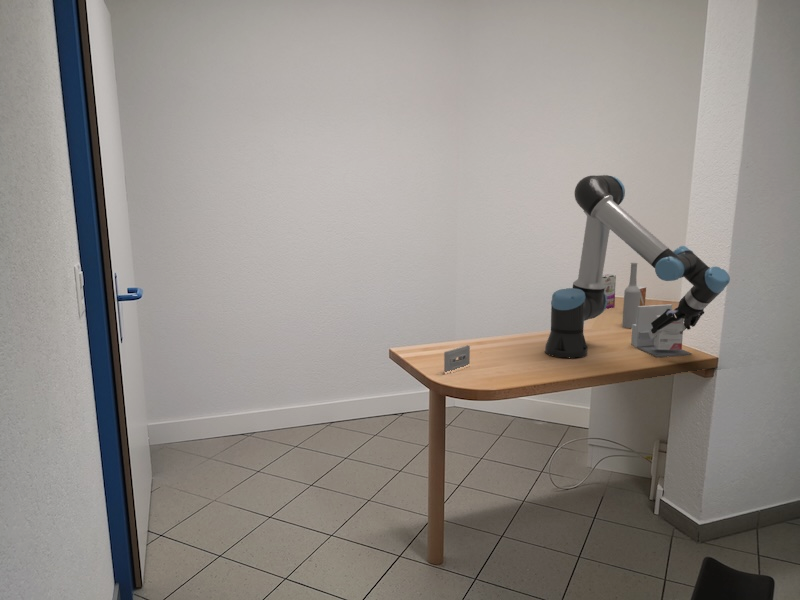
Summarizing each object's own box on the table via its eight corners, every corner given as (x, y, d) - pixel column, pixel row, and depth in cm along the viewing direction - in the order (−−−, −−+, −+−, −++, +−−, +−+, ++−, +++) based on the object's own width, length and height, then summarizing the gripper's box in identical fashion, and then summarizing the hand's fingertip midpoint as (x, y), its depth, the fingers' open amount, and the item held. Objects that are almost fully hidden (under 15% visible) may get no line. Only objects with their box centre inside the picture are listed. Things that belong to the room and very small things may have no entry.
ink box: (677, 346, 219) (679, 314, 217) (682, 349, 214) (684, 317, 212) (652, 345, 220) (655, 314, 217) (657, 349, 215) (659, 317, 212)
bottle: (621, 327, 255) (625, 263, 250) (622, 324, 261) (626, 261, 255) (637, 329, 252) (642, 264, 247) (638, 325, 258) (643, 262, 253)
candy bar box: (607, 305, 301) (608, 273, 297) (614, 307, 296) (616, 275, 293) (591, 308, 295) (592, 275, 292) (598, 310, 291) (600, 277, 288)
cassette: (466, 366, 206) (466, 344, 205) (470, 367, 205) (470, 345, 203) (443, 373, 198) (443, 351, 197) (447, 375, 197) (447, 352, 195)
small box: (637, 316, 276) (639, 289, 273) (624, 314, 280) (625, 287, 278) (644, 313, 281) (646, 286, 279) (631, 311, 286) (633, 285, 283)
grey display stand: (656, 357, 212) (659, 314, 209) (628, 344, 229) (631, 304, 226) (691, 354, 214) (694, 311, 211) (661, 342, 232) (664, 302, 228)
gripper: (670, 312, 197) (639, 346, 215) (728, 309, 201) (693, 342, 219) (661, 294, 201) (632, 328, 219) (718, 291, 205) (684, 325, 223)
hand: (662, 335), depth 219 cm, fingers closed on ink box, 9 cm apart
